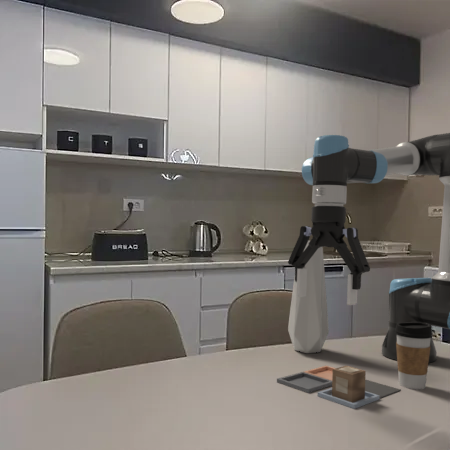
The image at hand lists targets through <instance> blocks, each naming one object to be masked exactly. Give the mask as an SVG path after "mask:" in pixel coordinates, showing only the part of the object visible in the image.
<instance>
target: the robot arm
mask: <svg viewBox="0 0 450 450" xmlns="http://www.w3.org/2000/svg"><path fill="white" fill-rule="evenodd" d="M396 174H397V175H398V174H399V175H401V176H406V177H407V176H438V177H439V178H438V180H439V181H440V182H441V183H442V184H443V186H444V190H443V201H442V202H443V203H442V218H441V227H440V228H441V229H440V231H441V232H440V244H439V258H438V259H439V260H438V271H437V273H435V274H434V275H433V276H432V277H411V278H410V277H409V278H407V277H404V278H394V279H392V280H391V282H390V283H389V292H388V296H389V297H388V303H389V304H388V328H387V332H386V335H385V336H384V340H383V341H382V345H381V355H382V356H384V357H386V358H387V359H392V360H394V361H397V348H396V342H397V335H396V334H395V329H396V324H397V323H405V322H421V323H428V324H431V325H432V327H436V328H442V329H447V330H450V132H448V133H447V132H446V133H441V134H433V135H429V136H425V137H424V136H423V137H421V138H418V139H414V140H410V141H404V142H400V143H399V144H397V145H396V146H392V147H384V148H383V147H382V148H377V149H376V148H375V149H367V150H365V149H358V148H351V147H350V145H349V139H348V137H347V136H344V135H340V134H327V135H326V134H325V135H320V136H318V137H316V139H315V140H314V145H313V153H312V157H309V158H307V159H306V160H305V161H303V164H302V166H301V175H302V178H303V180H304V182H305V183H306V184H307V185H309V186H312V194H311V195H312V196H311V203H312V204H314V205H312V206H311V218H310V219H311V222H312V226H310V225H307V226H306V225H302V226H301V227H299V228H300V229H299V236H298V238H297V240H296V242H295V245H294V247H293V249H292V252H291V254H290V256H289V259H288V261H287V263H288V265H290V266H293V267H294V276H295V282H297V294H296V297H304V296H306V287H307V269H306V268H305V267H304V266H305V265H306V264H307V262H308V261H309V260H310V258H311V257H312V256H313V255H314V253H315V252H316V251H317V249H318V248H320V247H323V248H333V249H334V250H336V252H338V254H339V255H340V257H341V259H342V260H343V261H344V264H345V265H346V266H347V268H348V270H349V271H350V273H349V274H347V289H346V292H347V294H346V295H347V296H346V306H354V305H358V291H359V290H360V289H362V288H361V287H362V275H363V274H364V273H368V272H370V271H371V267H370V265H369V262H368V259H367V257H366V255H365V252H364V250H363V249H364V248H363V247H362V244H361V241H360V239H359V229H358V228H356V227H347V228H345V223H346V222H347V221H346V220H347V219H346V217H347V216H346V215H347V208H346V207H345V206H344V205H346V204H347V196H348V195H347V194H348V193H347V192H348V191H347V186H348V184H355V183H356V184H358V183H363V184H368V185H369V184H378V183H380V182H381V181H383V180H384V179H385V178H386V176H393V175H396ZM311 236H312V238H311ZM344 237H345V238H347V242H348V245H349V248H350V250H349V248H348V245H347V243H346V242H345V240H344ZM310 238H311V240H310ZM308 241H310V242H309V245H308V247H307V248H306V249H305V247H306V245H307V242H308ZM304 249H305V250H304ZM303 251H304V252H303ZM430 346H431V347H430V355H429V362H428V363H432V362H435V361H437V349H436V346H435V343H434V339H433V337H432V338H431V339H430Z"/></svg>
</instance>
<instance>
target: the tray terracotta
mask: <svg viewBox="0 0 450 450" xmlns="http://www.w3.org/2000/svg"><path fill="white" fill-rule="evenodd" d="M335 368H336V367H333V366H329V365H323V366H319V367H316V368H312V369H308V370H304V371H303V372H305V373H308V374H311V375H315V376H318V377H321V378H324V379H328V380H331V381H332V375H333V369H335Z"/></svg>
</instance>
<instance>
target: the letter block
mask: <svg viewBox="0 0 450 450" xmlns="http://www.w3.org/2000/svg"><path fill="white" fill-rule="evenodd" d="M334 368H335V369H333V375H332V386H331V388H332V396H334V397H337V398H340V399H343V400H346V401H349V402H352V403H354V402H356V401H359V400H362V399H364V398H365V380H366V372H367V371H366V370H363V369H360V368H356V367H353V366H349V365H343V366H339V367H334Z"/></svg>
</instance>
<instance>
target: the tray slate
mask: <svg viewBox="0 0 450 450" xmlns="http://www.w3.org/2000/svg"><path fill="white" fill-rule="evenodd" d="M316 394H317V395H316V396H317V397H319V398H322V399H324V400H327V401H330V402H333V403H335V404H339V405H341V406H345V407H347V408H350V409H353V410H355V409H358V408H361V407H363V406H365V405H367V404H372V403H374V402H376V401H379V400H380V399H379V395H376V394H373V393H370V392H367V391H365V398H364V399H362V400H359V401H356V402H354V403H352V402H349V401H346V400H343V399H340V398H337V397H334V396H332V387H330V388H327V389H324V390H323V389H322V390H320V391H317V393H316Z"/></svg>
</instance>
